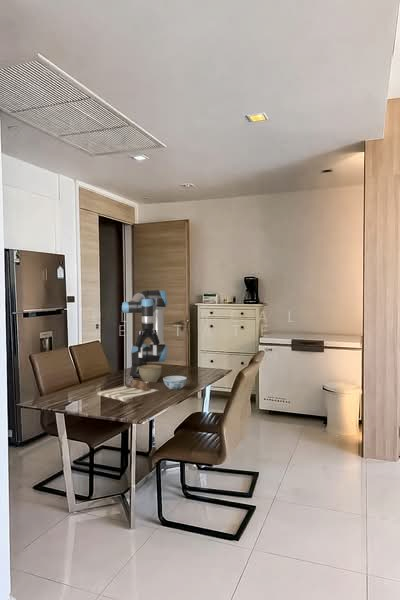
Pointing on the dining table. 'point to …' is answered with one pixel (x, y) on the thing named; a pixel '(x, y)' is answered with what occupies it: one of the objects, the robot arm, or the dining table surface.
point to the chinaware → (174, 382)
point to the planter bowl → (150, 372)
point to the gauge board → (124, 393)
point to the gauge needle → (136, 383)
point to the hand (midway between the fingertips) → (147, 356)
